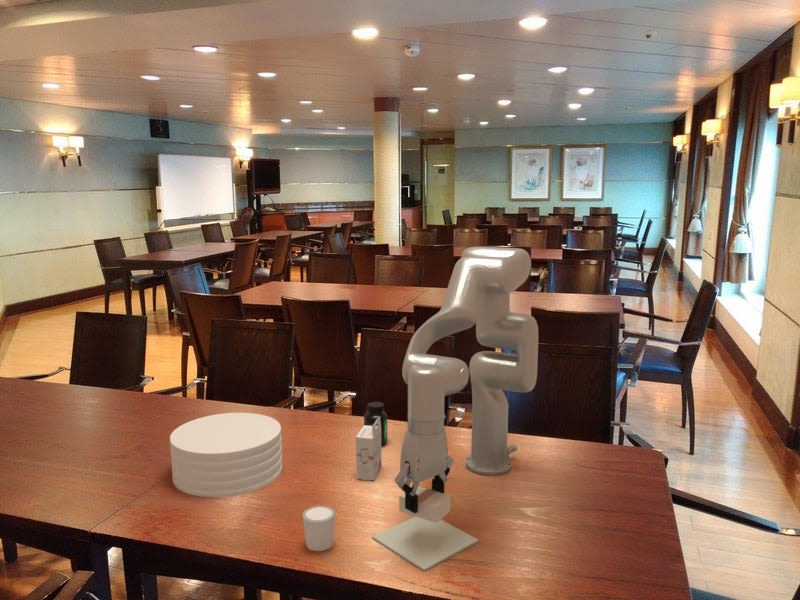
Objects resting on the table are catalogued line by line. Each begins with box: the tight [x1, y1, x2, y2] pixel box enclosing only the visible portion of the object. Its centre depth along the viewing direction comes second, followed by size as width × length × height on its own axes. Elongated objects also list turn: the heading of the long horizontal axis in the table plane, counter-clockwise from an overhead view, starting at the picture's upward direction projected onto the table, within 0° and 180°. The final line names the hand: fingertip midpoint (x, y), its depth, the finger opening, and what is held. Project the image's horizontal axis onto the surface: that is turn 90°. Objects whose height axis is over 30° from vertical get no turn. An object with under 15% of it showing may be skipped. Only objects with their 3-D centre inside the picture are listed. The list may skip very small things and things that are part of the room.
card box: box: [398, 485, 452, 523], centre depth 135 cm, size 9×6×4 cm, turn 58°
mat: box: [371, 516, 479, 573], centre depth 137 cm, size 16×16×1 cm
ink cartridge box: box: [355, 416, 382, 481], centre depth 167 cm, size 9×5×15 cm, turn 168°
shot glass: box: [302, 505, 336, 552], centre depth 135 cm, size 7×7×7 cm
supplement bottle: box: [363, 401, 388, 448], centre depth 187 cm, size 7×7×12 cm
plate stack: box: [169, 412, 283, 498], centre depth 168 cm, size 28×28×12 cm
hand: (424, 504), depth 135 cm, fingers closed on card box, 7 cm apart
